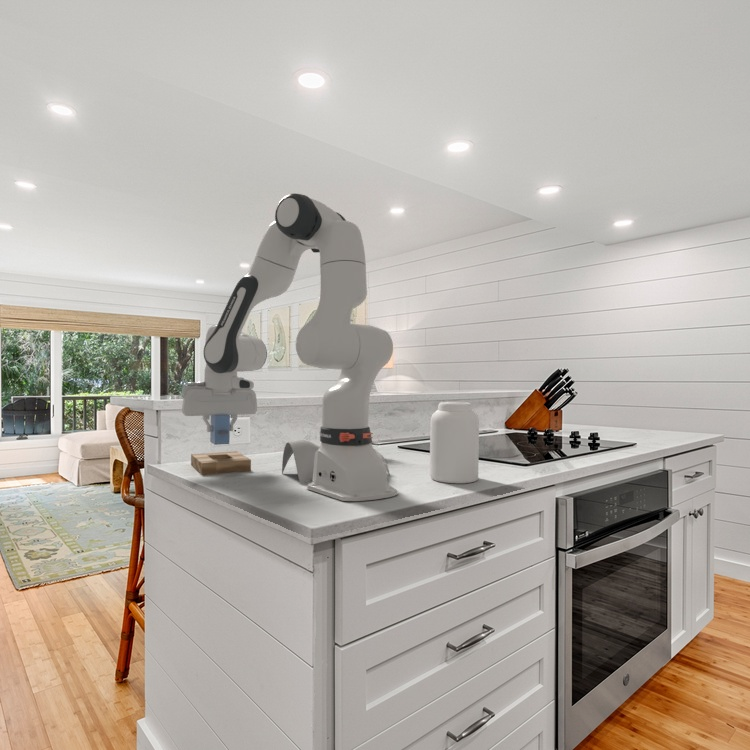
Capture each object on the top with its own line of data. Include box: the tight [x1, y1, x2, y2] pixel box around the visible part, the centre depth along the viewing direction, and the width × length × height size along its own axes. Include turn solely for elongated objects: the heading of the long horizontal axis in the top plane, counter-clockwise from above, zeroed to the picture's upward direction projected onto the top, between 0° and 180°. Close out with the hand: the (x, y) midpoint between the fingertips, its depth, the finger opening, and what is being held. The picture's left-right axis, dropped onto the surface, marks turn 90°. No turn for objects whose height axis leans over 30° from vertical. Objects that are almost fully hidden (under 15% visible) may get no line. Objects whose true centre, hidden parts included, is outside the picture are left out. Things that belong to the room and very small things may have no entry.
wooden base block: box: [190, 450, 252, 475], centre depth 145 cm, size 16×13×3 cm
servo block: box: [209, 415, 231, 446], centre depth 145 cm, size 9×4×8 cm, turn 29°
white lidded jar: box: [429, 401, 480, 485], centre depth 133 cm, size 12×12×20 cm
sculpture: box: [281, 439, 391, 485], centre depth 138 cm, size 25×19×10 cm
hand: (220, 431), depth 145 cm, fingers closed on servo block, 4 cm apart
